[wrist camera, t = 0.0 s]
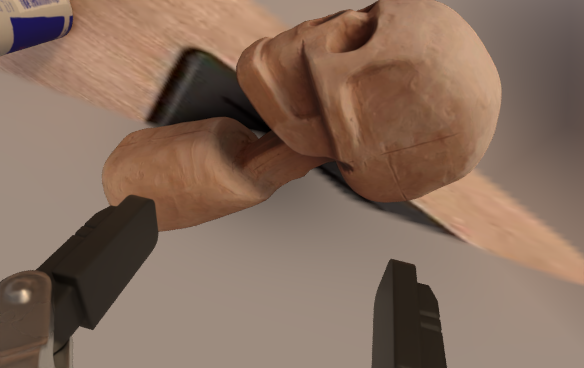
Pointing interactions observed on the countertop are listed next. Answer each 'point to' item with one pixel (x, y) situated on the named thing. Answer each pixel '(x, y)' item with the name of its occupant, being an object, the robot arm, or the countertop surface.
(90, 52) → the countertop surface
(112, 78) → the countertop surface
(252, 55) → the sculpture
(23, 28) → the beverage can
